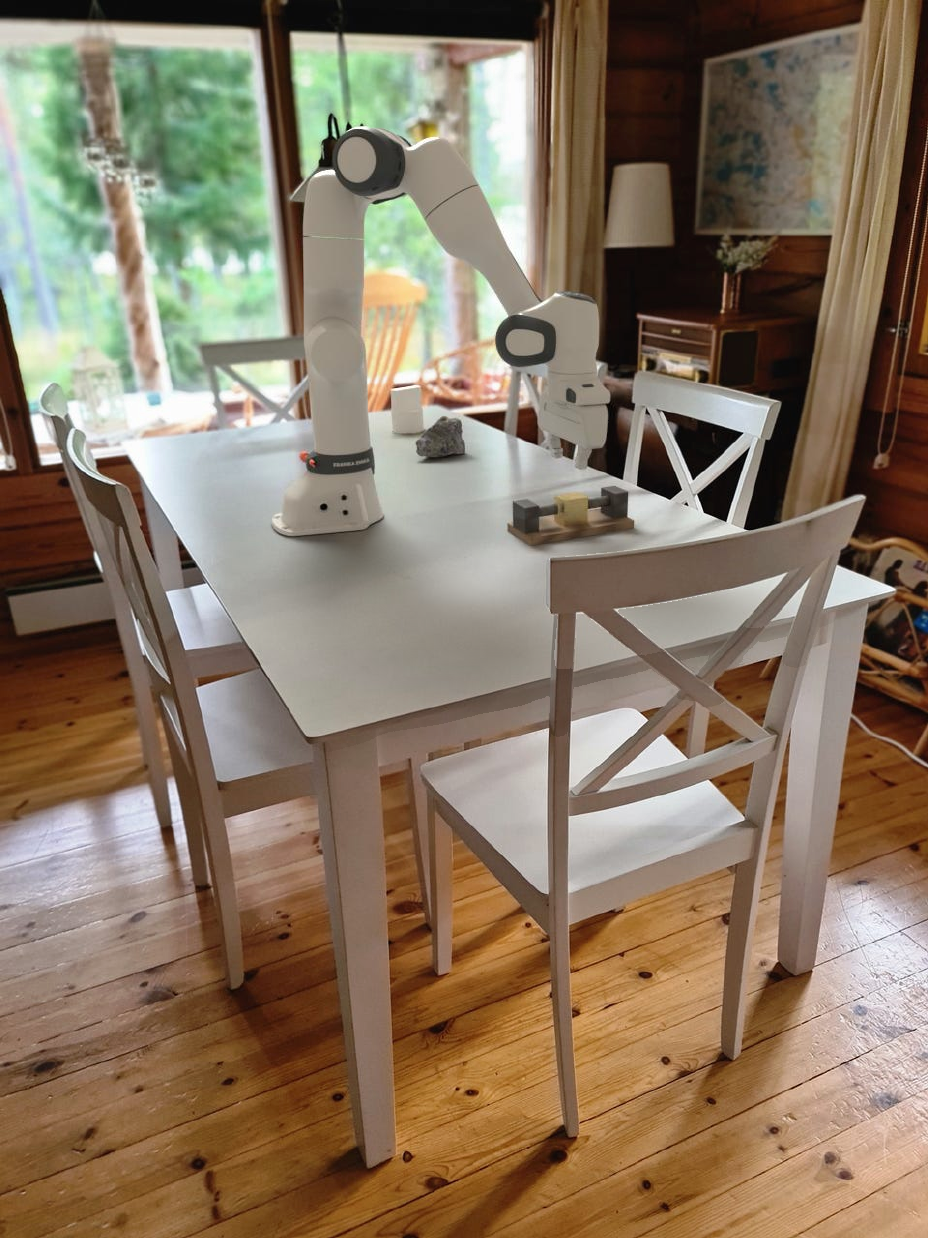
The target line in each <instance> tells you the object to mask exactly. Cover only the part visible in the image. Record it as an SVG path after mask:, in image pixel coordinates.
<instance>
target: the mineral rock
mask: <svg viewBox="0 0 928 1238" xmlns="http://www.w3.org/2000/svg"><path fill="white" fill-rule="evenodd" d="M463 433H464V432H463V423H462V420H461V419H460V418H458V417H452V418H449V417H447V416H446V415H442V416H440V417H439V419H437V420H436V421H435V423H434V424H432V425H431V427H429V428H428V429H426V430H425V432H423V434H421V437H420V438H418V439H417V440H416V441H415V443H414V444H415V446H416V450H415V452H416V454H417V455H418V456H419V457H426V458H443V457H446V456H449V455H462V454H465V453H466V446H465V445H466V444H465V441H464V440H465V439H463Z"/></svg>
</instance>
